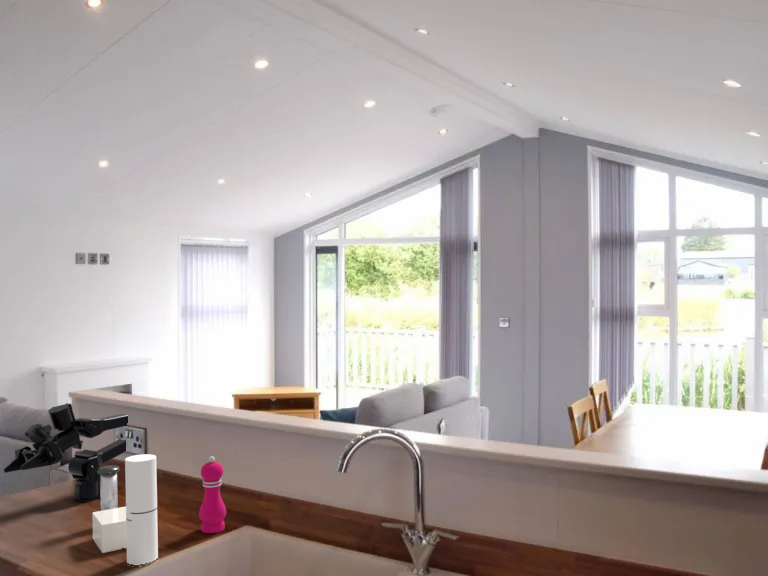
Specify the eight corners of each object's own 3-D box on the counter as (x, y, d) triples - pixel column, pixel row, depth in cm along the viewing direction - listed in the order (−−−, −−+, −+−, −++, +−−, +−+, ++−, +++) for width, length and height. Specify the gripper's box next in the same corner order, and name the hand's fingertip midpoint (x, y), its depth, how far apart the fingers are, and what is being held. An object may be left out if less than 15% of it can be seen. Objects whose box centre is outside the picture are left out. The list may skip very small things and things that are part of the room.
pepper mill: (222, 534, 188) (221, 459, 188) (195, 534, 188) (194, 459, 188) (229, 524, 195) (228, 453, 195) (203, 525, 195) (202, 453, 195)
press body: (92, 538, 186) (92, 512, 186) (139, 529, 192) (139, 504, 192) (102, 553, 176) (102, 525, 176) (151, 542, 182) (150, 515, 182)
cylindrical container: (148, 567, 166) (146, 462, 166) (120, 565, 168) (119, 461, 168) (163, 555, 173) (161, 454, 173) (137, 554, 175) (135, 453, 175)
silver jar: (96, 523, 197) (95, 467, 197) (117, 519, 200) (116, 464, 200) (108, 539, 185) (107, 479, 184) (130, 534, 188) (129, 475, 188)
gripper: (31, 422, 216) (-17, 447, 203) (66, 415, 206) (18, 441, 193) (46, 454, 218) (0, 481, 205) (81, 449, 208) (35, 477, 195)
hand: (12, 469), depth 200 cm, fingers open, 9 cm apart
